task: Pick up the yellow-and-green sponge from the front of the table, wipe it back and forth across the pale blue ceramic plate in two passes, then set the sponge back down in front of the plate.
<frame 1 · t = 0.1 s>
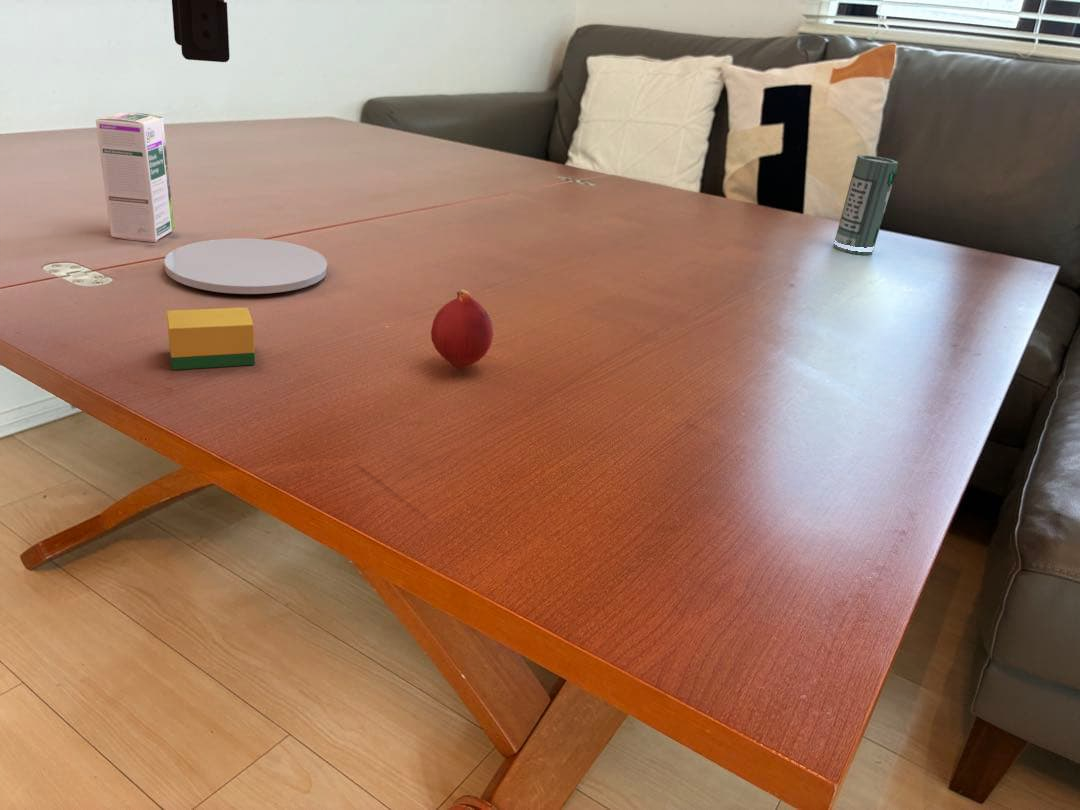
hand: (200, 52, 66), 26 cm above the table, tool pointing down, fingers open, 9 cm apart
onion: (459, 370, 82), on the table
syrup box: (142, 235, 108), on the table
can: (852, 250, 143), on the table
sponge: (212, 358, 78), on the table
plate: (248, 272, 100), on the table
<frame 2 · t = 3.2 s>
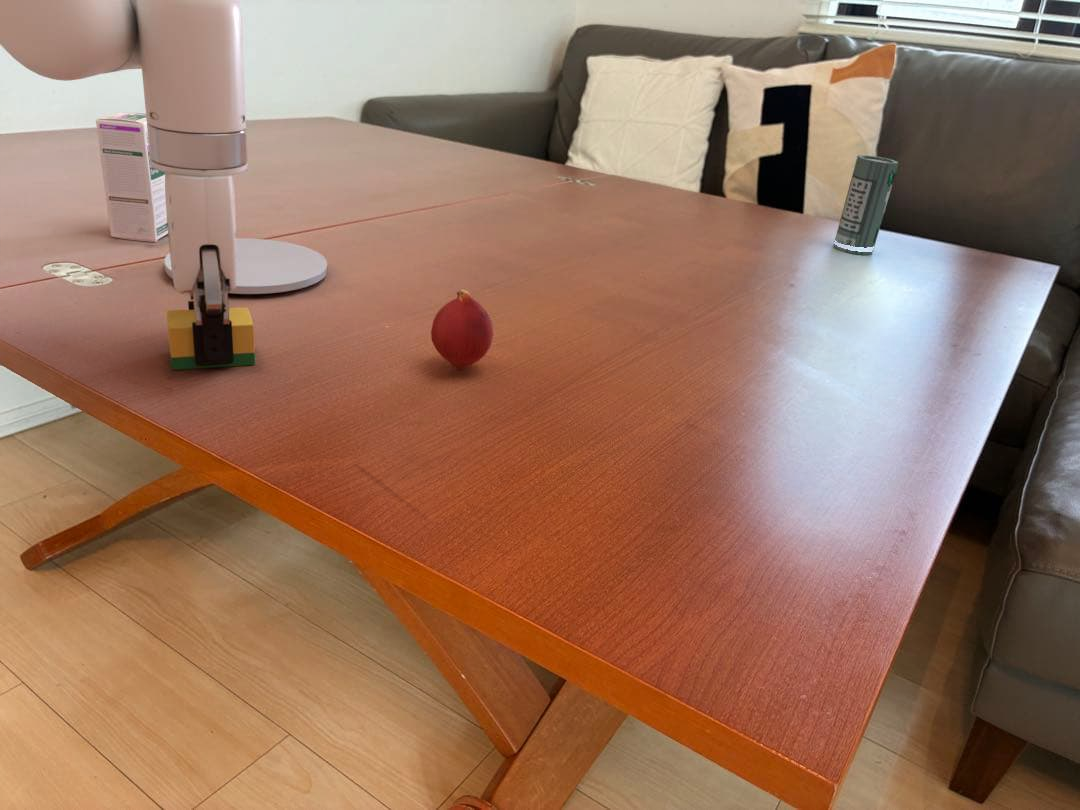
hand: (211, 350, 78), 1 cm above the table, tool pointing down, fingers closed on sponge, 4 cm apart
sponge: (212, 358, 78), on the table, touching gripper
everything else where it was.
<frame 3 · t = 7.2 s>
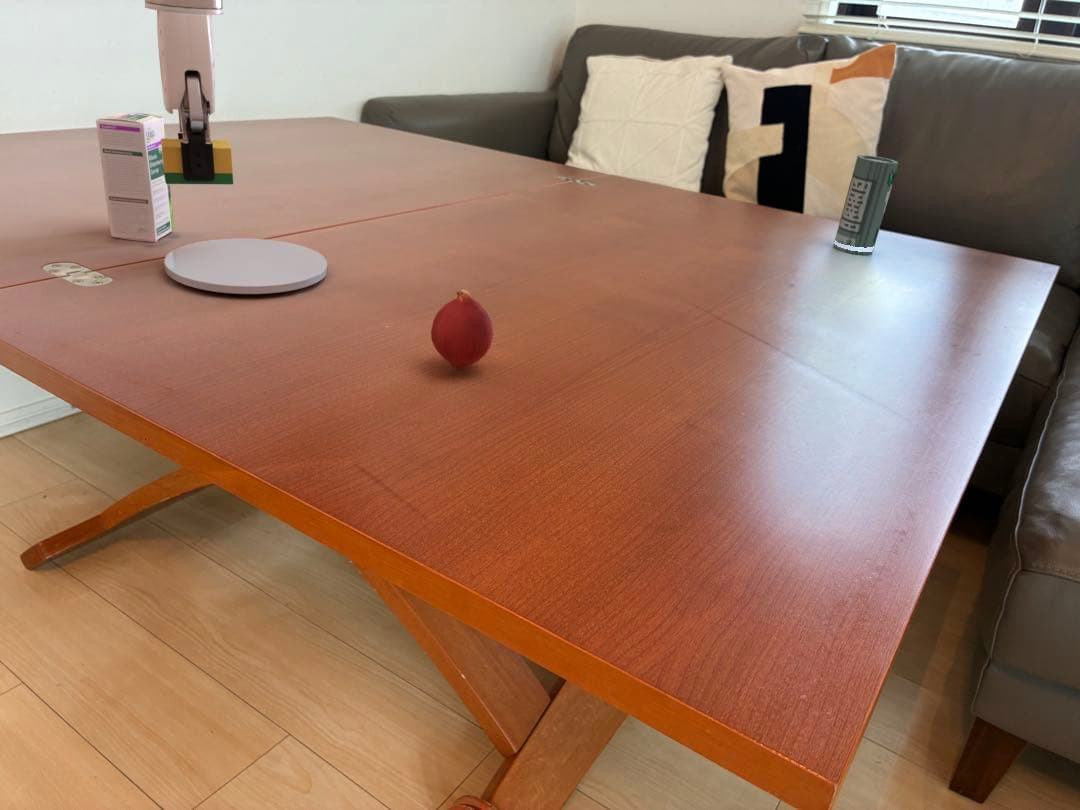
hand: (197, 173, 95), 11 cm above the table, tool pointing down, fingers closed on sponge, 4 cm apart
sponge: (198, 179, 96), point 10 cm above the table, touching gripper
everything else where it was.
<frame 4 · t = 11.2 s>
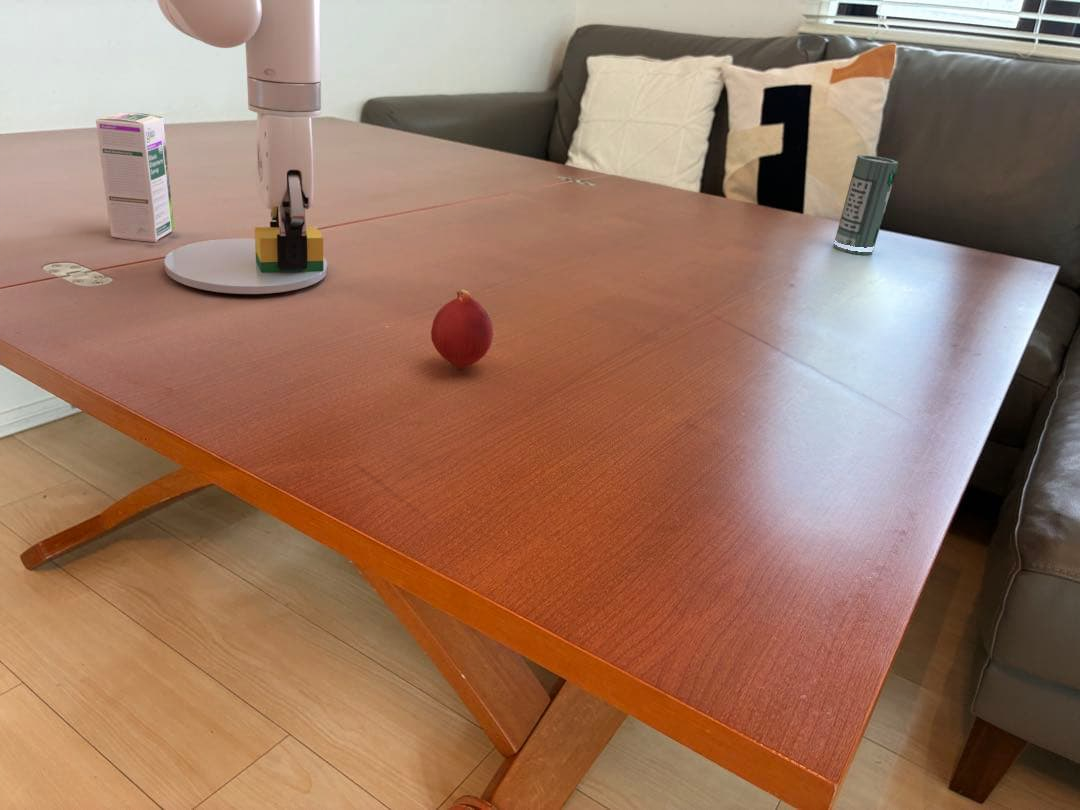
hand: (288, 260, 99), 2 cm above the table, tool pointing down, fingers closed on sponge, 4 cm apart
sponge: (289, 265, 99), point 2 cm above the table, touching gripper
everything else where it was.
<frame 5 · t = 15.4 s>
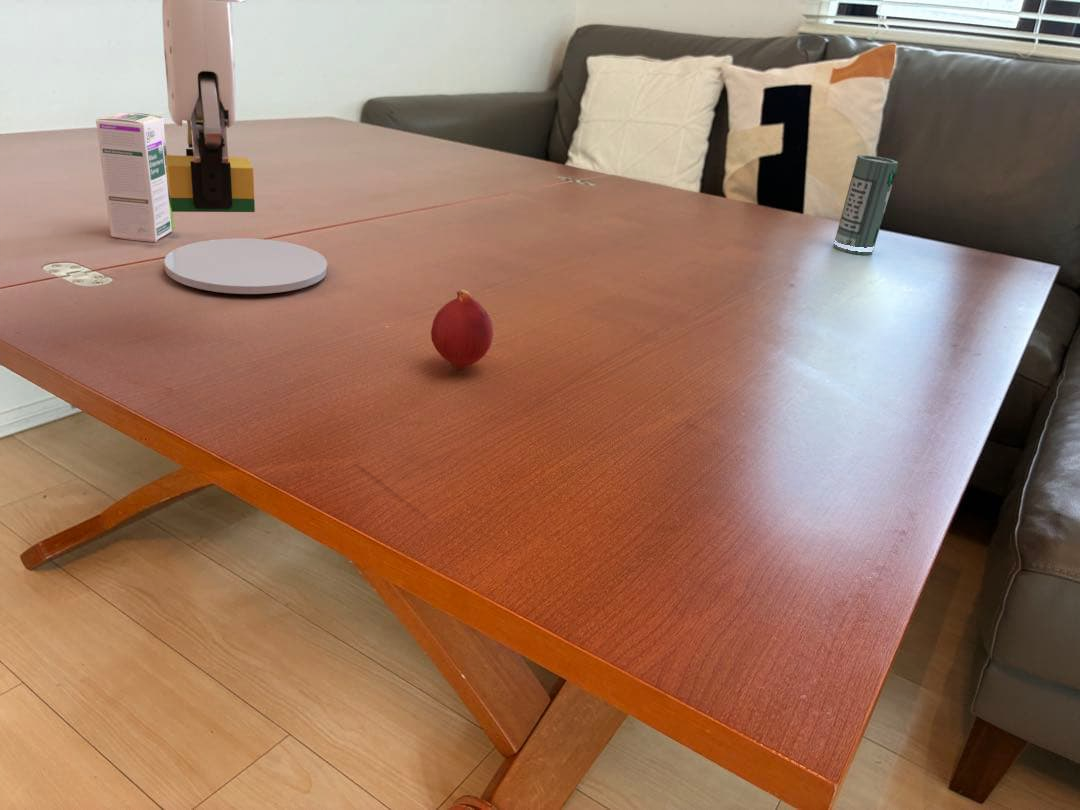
hand: (210, 198, 77), 13 cm above the table, tool pointing down, fingers closed on sponge, 4 cm apart
sponge: (211, 205, 77), point 13 cm above the table, touching gripper
everything else where it was.
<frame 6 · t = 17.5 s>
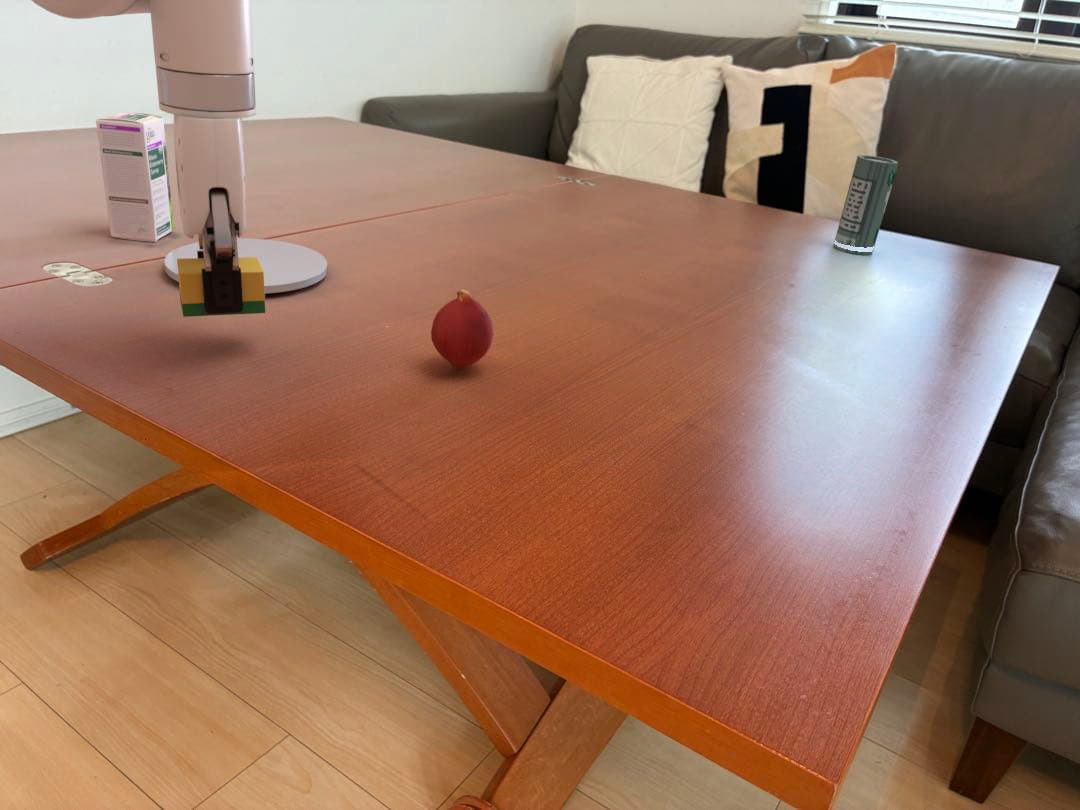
hand: (221, 299, 78), 5 cm above the table, tool pointing down, fingers closed on sponge, 4 cm apart
sponge: (222, 306, 78), point 4 cm above the table, touching gripper
everything else where it was.
when the fingers open (1 cm above the table, at t = 19.0 s): sponge stays where it is, on the table.
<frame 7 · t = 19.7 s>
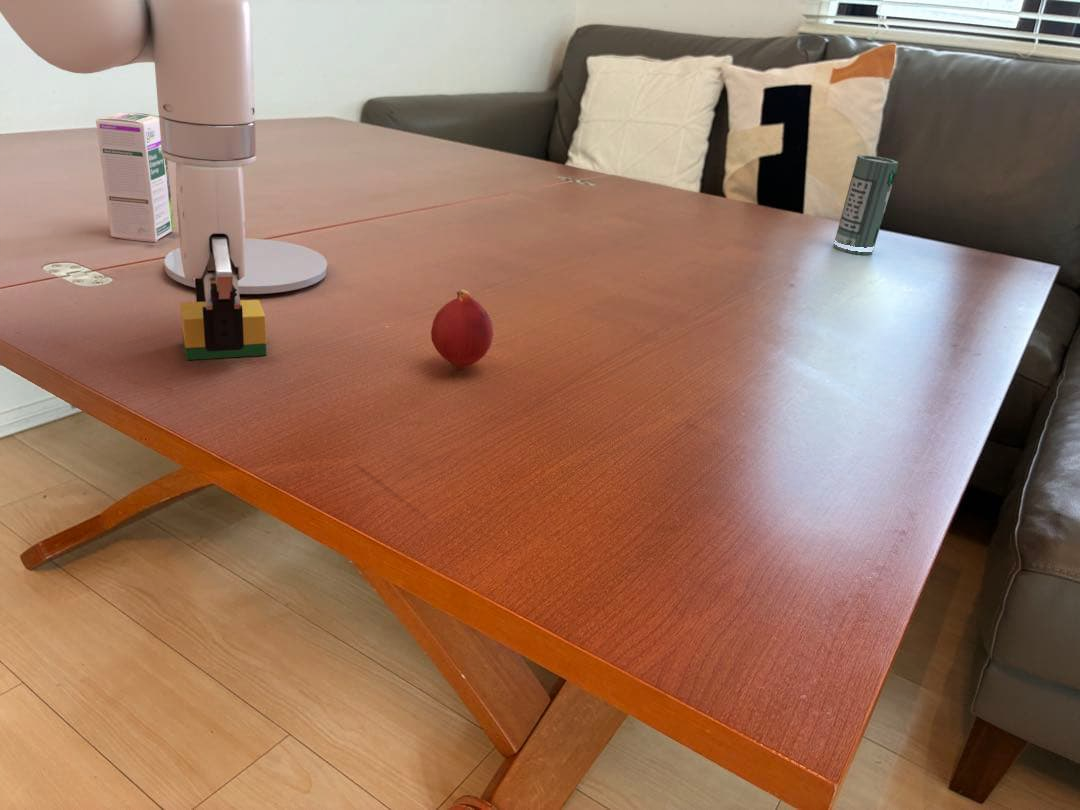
hand: (219, 328, 79), 2 cm above the table, tool pointing down, fingers open, 9 cm apart
sponge: (224, 348, 80), on the table
everything else where it was.
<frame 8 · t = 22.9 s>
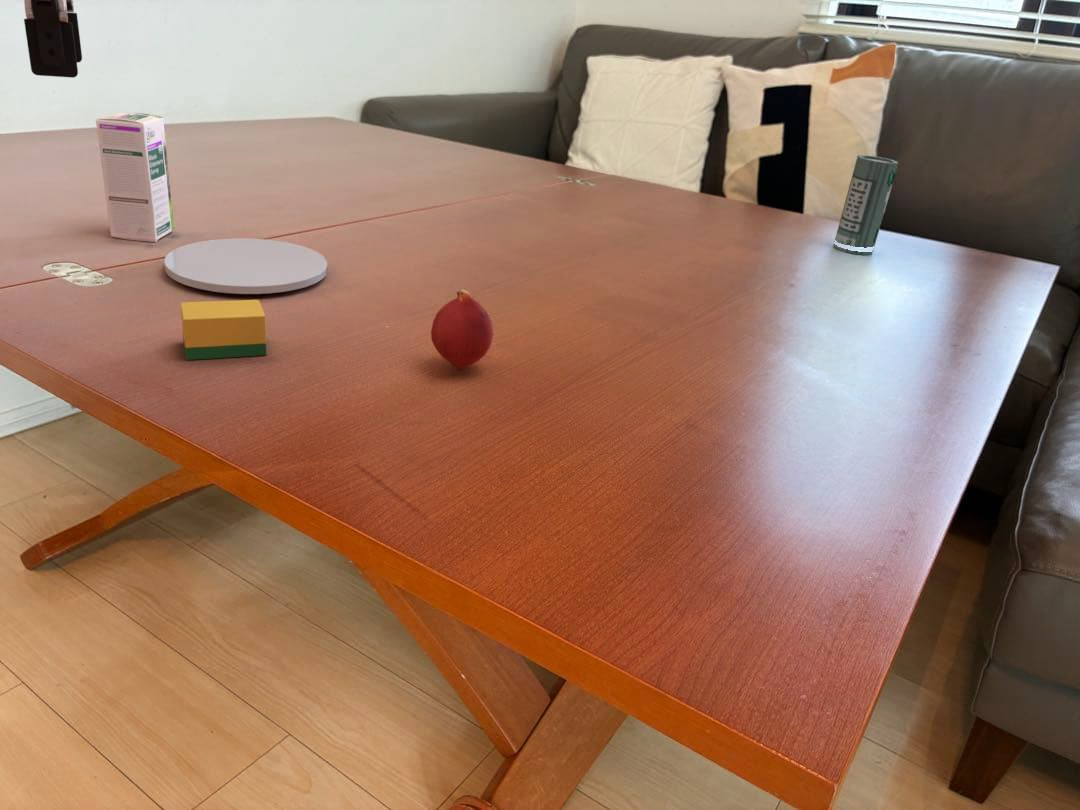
hand: (59, 67, 71), 23 cm above the table, tool pointing down, fingers open, 9 cm apart
nothing on the table moved.
at the end: sponge inside the target area on the table beside the plate (0.3 cm from its centre), on the table; the gripper is holding nothing; sponge tilted 0° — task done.
